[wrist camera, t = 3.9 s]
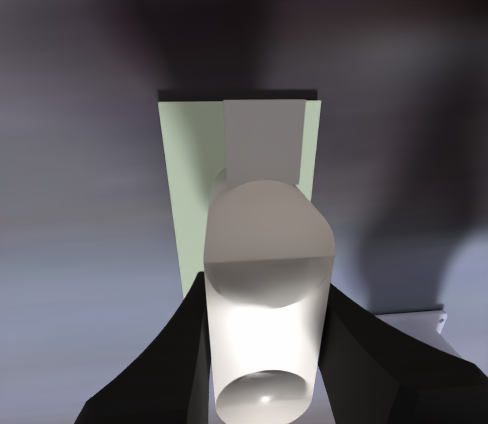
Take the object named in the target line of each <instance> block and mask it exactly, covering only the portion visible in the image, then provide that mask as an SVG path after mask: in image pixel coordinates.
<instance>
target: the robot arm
mask: <svg viewBox="0 0 488 424" xmlns="http://www.w3.org/2000/svg"><path fill="white" fill-rule="evenodd" d="M446 318H447V313H446V312H445V311H443V310H439V311H426V312H413V313H400V314H386V315H373V314H371V313H370V312H368V311H367V310H365V309H364V308H362V307H361V306H359V305H358V304H357V303H355V302H354V301H353V300H351V299H350V298H348V297H347V296H346V295H345V294H343V293H342V292H341V291H340V290H338V289H337V288H336V287H335V286H333V285H332V284H331V283H330V288H329V294H328V301H327V307H326V313H325V319H324V326H323V332H322V338H321V345H320V351H319V357H318V363H317V364H318V366H319V369H320V372H321V375H322V378H323V381H324V385H325V388H326V391H327V395H328V398H329V402H330V405H331V409H332V412H333V416H334V419H335V423H336V424H488V377H487V376H486V375H485V374H484V373H483V372H482V371H481V370H480V369H479V368H478V367H477V366H476V365H475V364H474V363H471V362H469V361H466V360H464V359H462V358H461V357H460V356H459V354H458V353H457V352H456V351H455V350H454V349H453V348H452V347H451V346H450V345H449V344H448V343H447V342H446V341H445V339H444V338H443V337H442V336H441V335H440V333H441V330H442V328H443V326H444V323H445V321H446ZM210 365H211V346H210V335H209V323H208V311H207V299H206V287H205V276H204V271H199V272H198V273H197V275H196V278H195V280H194V282H193V284H192V286H191V288H190V290H189V291H188V293H187V295H186V297H185V298H184V300H183V302H182V303H181V305H180V306H179V308H178V309H177V311H176V312H175V314H174V315H173V317H172V318H171V319H170V321H169V322H168V323H167V325H166V326H165V327H164V329H163V330H162V331H161V332H160V333H159V335H158V336H157V337H156V338H155V339H154V340H153V341H152V343H151V344H150V345H149V346H148V347H147V348H146V349H145V350H144V351H143V352H142V353H141V354H140V355H139V356H138V357H137V358H136V359H135V360H134V361H133V362H132V363H131V364H130V365H129V366H128V367H127V368H126V369H125V370H124V371H123V372H122V373H120V374H119V375H118V376H117V377H116V378H115V379H114V380H112V381H111V382H110V383H109V384H108V385H106V386H105V387H104V388H103V389H101V390H100V391H99V392H98V393H96V394H95V395H94V396H93V397H91V398H90V399H89V400H87V401H86V403H85V405H84V407H83V409H82V410H81V412H80V414H79V416H78V417H77V419H76V421H75V423H74V424H208V402H209V375H210Z"/></svg>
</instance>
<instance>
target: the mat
mask: <svg viewBox="0 0 488 424" xmlns="http://www.w3.org/2000/svg"><path fill="white" fill-rule="evenodd" d="M158 105H159V113H160V121H161V128H162V136H163V144H164V151H165V159H166V167H167V174H168V182H169V190H170V197H171V205H172V212H173V220H174V228H175V235H176V243H177V251H178V258H179V266H180V274H181V281H182V289H183V297H184V298H185V297H186V295H187V293H188V291H189V290H190V288H191V286H192V284H193V282H194V280H195V278H196V275H197V273H198V272H199V271H204V264H203V255H204V245H205V235H206V225H207V215H208V205H209V195H210V190H211V186H212V184H213V182H214V180H215V178H216V177H217V175H218V174H219V173H220V172H221V171H222V170H223V169H224V168H225V167H226V166H225V139H224V112H223V101H205V102H158ZM320 107H321V101H306V107H305V119H304V131H303V143H302V155H301V167H300V180H299V185H296V186H297V187H298V189H299V190H300V191H301V192H302V193H303V194H304V195H305V197H306V198H307V199H308V200H309V201H310V202H311V193H312V183H313V173H314V164H315V154H316V145H317V135H318V126H319V116H320Z"/></svg>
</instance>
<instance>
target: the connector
mask: <svg viewBox="0 0 488 424" xmlns="http://www.w3.org/2000/svg"><path fill="white" fill-rule="evenodd" d="M305 107H306V100H305V99H264V100H223V112H224V139H225V166H226V167H225V168H224V169H223V170H222V171H221V172H220V173H219V174H218V175H217V177H216V178H215V180H214V182H213V184H212V186H211V190H210V195H209V205H208V215H207V225H206V235H205V245H204V255H203V264H204V276H205V287H206V299H207V311H208V323H209V335H210V346H211V358H212V370H213V382H214V393H215V405H216V411H217V414H218V416H219V417H220V418H221V419H222V420H223V421H224V422H225V423H226V424H288V423H290V422H292V421H294V420H295V419H297V418H298V417H300V416H301V415H302V414H303V413H304V412H305V411H306V410H307V408H308V407H309V405H310V403H311V400H312V395H313V389H314V382H315V376H316V370H317V363H318V357H319V351H320V345H321V338H322V332H323V326H324V319H325V313H326V307H327V301H328V294H329V288H330V282H331V275H332V269H333V263H334V257H335V240H334V236H333V232H332V230H331V228H330V226H329V224H328V222H327V221H326V220H325V218H324V217H323V216H322V215H321V214H320V213H319V211H318V210H317V209H316V208H315V207H314V206H313V205H312V203H311V202H310V201H309V200H308V199H307V198H306V197H305V195H304V194H303V193H302V192H301V191H300V190H299V189H298V187H297V186H296V185H299V180H300V167H301V155H302V143H303V131H304V119H305Z"/></svg>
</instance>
